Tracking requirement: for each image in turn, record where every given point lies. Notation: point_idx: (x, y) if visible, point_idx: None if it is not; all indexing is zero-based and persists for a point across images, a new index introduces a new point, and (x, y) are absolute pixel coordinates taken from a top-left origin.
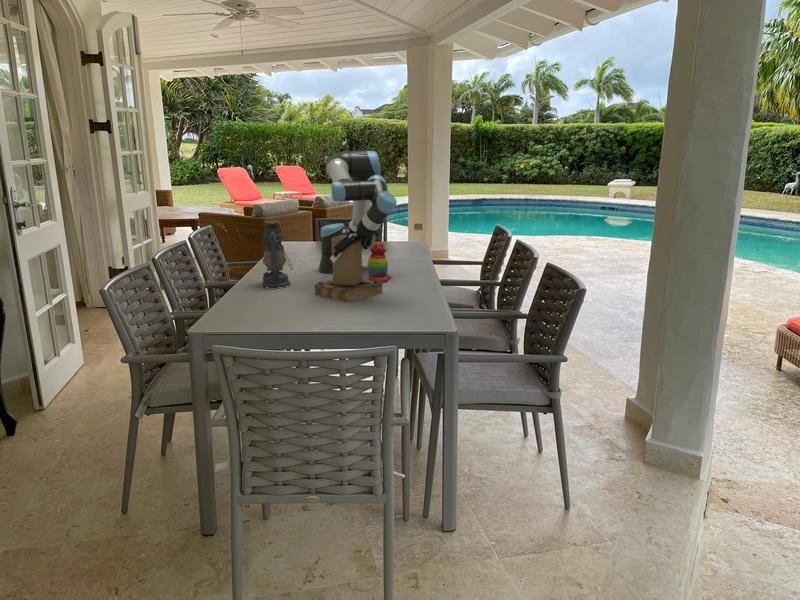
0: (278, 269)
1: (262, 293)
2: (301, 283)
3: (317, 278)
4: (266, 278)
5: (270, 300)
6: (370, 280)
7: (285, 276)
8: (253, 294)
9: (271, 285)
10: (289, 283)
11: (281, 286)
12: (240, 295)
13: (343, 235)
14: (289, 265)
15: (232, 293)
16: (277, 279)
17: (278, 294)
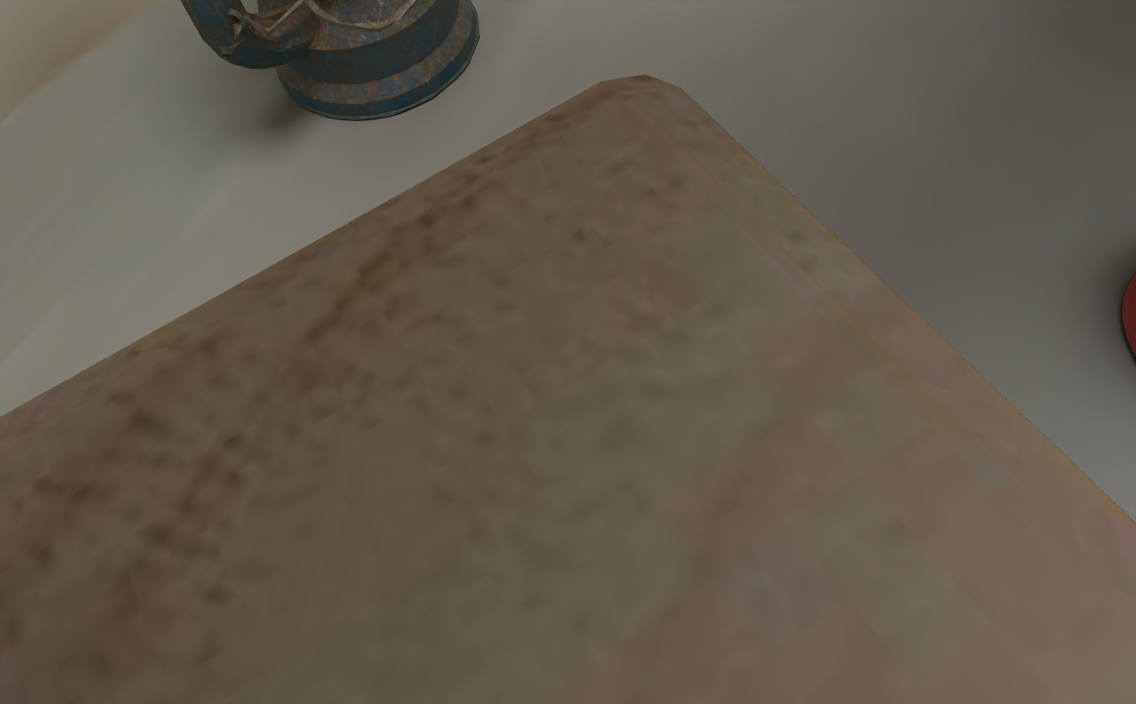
0: (235, 16)
1: (155, 181)
2: (550, 77)
3: (743, 8)
4: (258, 7)
5: (16, 404)
6: (1129, 338)
7: (384, 31)
8: (100, 172)
9: (287, 79)
10: (436, 77)
11: (349, 109)
12: (34, 149)
13: (594, 280)
14: (312, 6)
15: (52, 79)
16: (309, 54)
17: (196, 272)
